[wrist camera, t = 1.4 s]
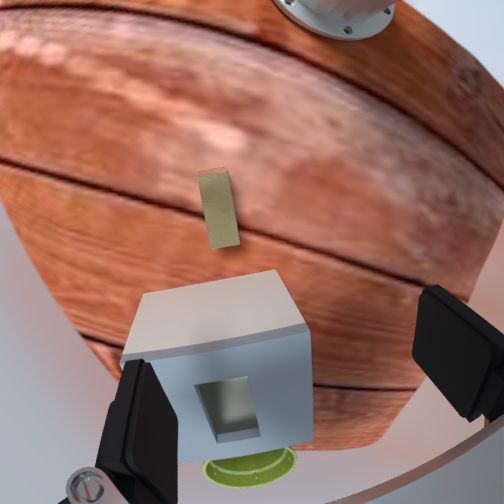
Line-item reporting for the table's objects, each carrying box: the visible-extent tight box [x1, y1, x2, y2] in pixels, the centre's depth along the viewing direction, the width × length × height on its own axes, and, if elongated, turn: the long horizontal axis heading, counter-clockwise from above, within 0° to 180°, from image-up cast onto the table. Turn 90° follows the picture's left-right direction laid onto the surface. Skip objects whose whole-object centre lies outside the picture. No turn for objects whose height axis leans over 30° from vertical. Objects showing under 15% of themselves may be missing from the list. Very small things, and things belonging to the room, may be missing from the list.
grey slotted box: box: [120, 269, 314, 464], centre depth 24 cm, size 12×12×10 cm
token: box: [198, 167, 240, 250], centre depth 23 cm, size 5×2×5 cm, turn 8°
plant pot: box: [203, 447, 298, 488], centre depth 29 cm, size 9×9×9 cm
